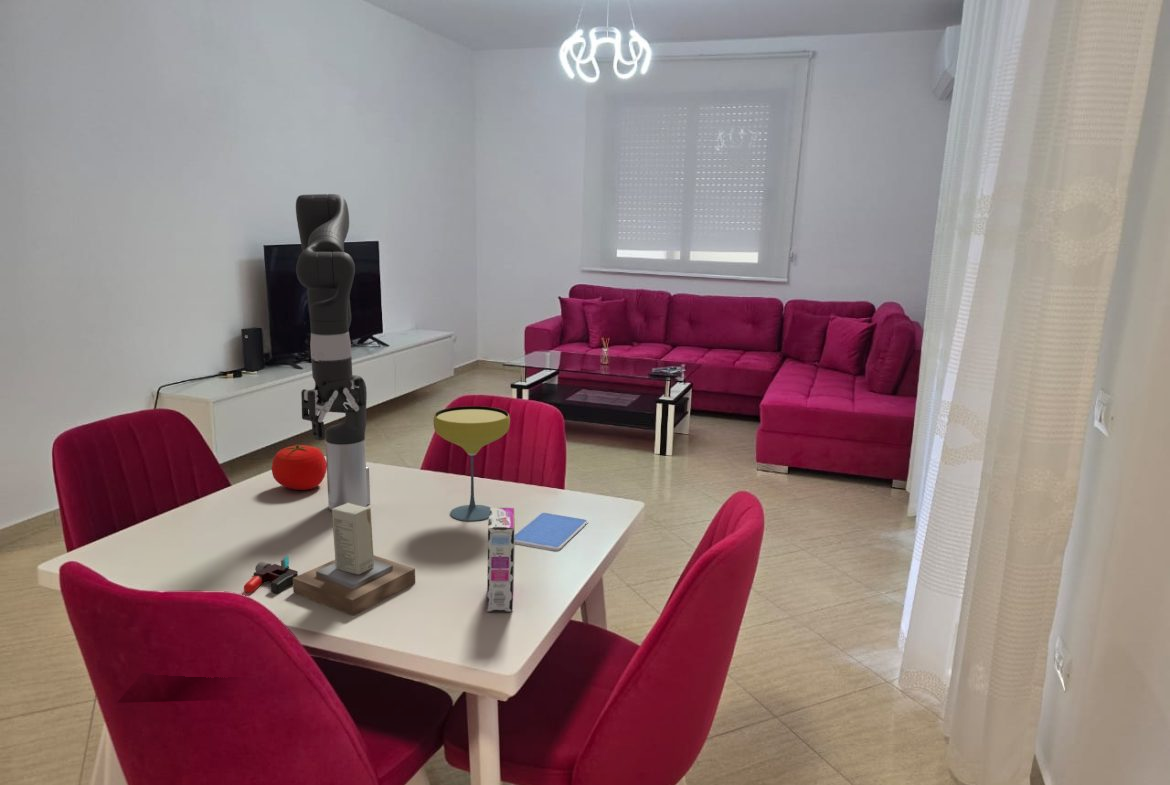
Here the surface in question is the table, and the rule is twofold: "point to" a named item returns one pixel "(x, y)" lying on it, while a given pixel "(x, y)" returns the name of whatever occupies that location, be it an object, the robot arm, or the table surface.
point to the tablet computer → (549, 531)
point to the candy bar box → (500, 560)
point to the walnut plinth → (353, 585)
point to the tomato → (299, 467)
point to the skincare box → (353, 538)
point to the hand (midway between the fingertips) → (336, 434)
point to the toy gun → (272, 576)
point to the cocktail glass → (471, 442)
